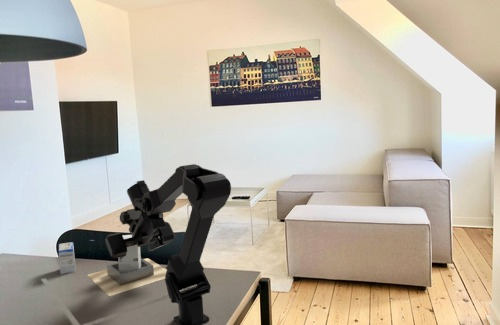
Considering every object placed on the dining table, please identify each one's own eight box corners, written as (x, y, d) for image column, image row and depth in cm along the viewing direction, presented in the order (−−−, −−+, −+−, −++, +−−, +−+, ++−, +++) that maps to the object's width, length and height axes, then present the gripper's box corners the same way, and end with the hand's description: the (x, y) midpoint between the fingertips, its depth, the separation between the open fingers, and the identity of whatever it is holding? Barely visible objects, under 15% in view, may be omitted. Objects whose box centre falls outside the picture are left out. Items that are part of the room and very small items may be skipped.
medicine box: (61, 269, 132) (58, 243, 131) (75, 266, 134) (73, 241, 133) (60, 277, 125) (57, 250, 124) (76, 274, 127) (73, 248, 126)
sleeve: (153, 275, 121) (153, 265, 121) (120, 285, 114) (119, 275, 114) (140, 265, 129) (139, 256, 129) (107, 274, 123) (106, 265, 122)
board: (175, 278, 120) (175, 275, 120) (109, 299, 108) (109, 296, 108) (147, 260, 136) (147, 258, 136) (87, 277, 124) (87, 274, 124)
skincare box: (119, 278, 119) (115, 239, 118) (122, 273, 124) (119, 235, 122) (140, 277, 120) (136, 238, 118) (142, 271, 124) (139, 233, 123)
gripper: (167, 195, 117) (153, 224, 127) (104, 206, 106) (93, 238, 115) (182, 225, 112) (166, 254, 122) (118, 241, 101) (106, 272, 110)
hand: (134, 253), depth 118 cm, fingers open, 9 cm apart
